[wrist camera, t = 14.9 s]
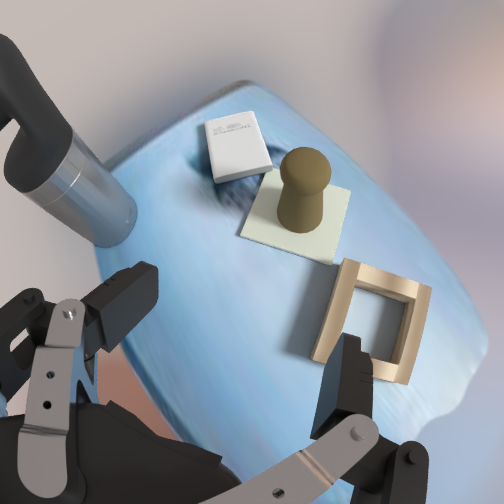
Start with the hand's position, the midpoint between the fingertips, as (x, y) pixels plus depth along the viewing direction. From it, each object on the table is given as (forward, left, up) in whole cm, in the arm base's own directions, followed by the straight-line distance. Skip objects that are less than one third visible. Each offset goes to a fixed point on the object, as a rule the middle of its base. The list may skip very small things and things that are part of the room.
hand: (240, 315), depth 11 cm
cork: (-1, +16, -22) cm, 27 cm away
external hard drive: (-13, +24, -22) cm, 35 cm away
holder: (+12, +5, -22) cm, 26 cm away
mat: (-1, +16, -22) cm, 27 cm away
